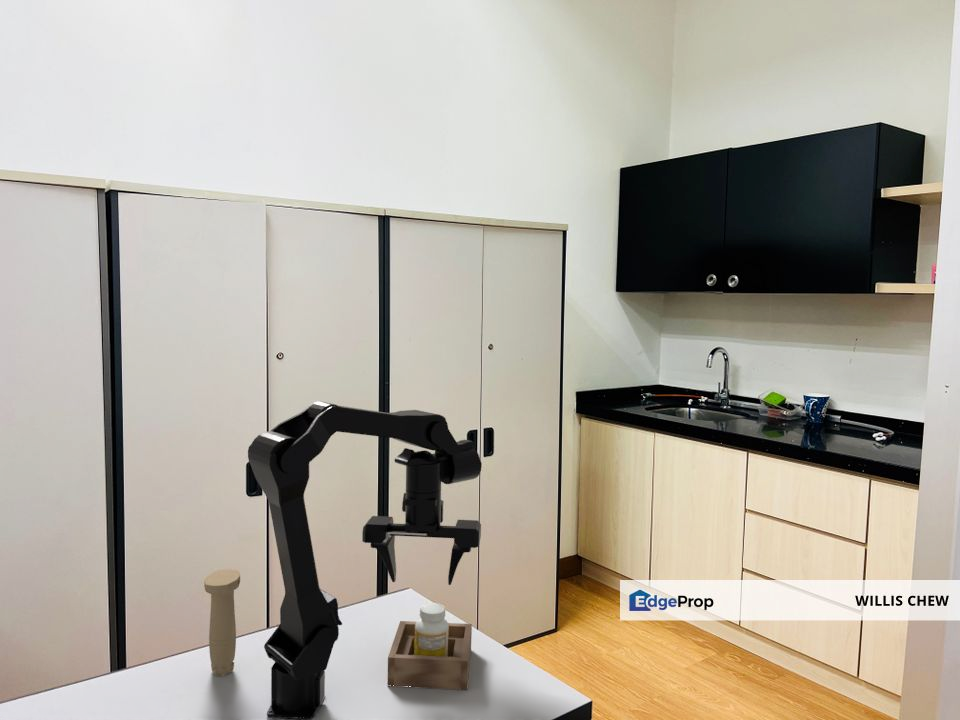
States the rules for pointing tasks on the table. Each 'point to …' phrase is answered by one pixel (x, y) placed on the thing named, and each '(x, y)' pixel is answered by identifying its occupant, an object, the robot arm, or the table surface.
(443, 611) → the supplement bottle
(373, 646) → the table surface
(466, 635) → the walnut box
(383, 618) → the table surface
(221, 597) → the handle
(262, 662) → the table surface
